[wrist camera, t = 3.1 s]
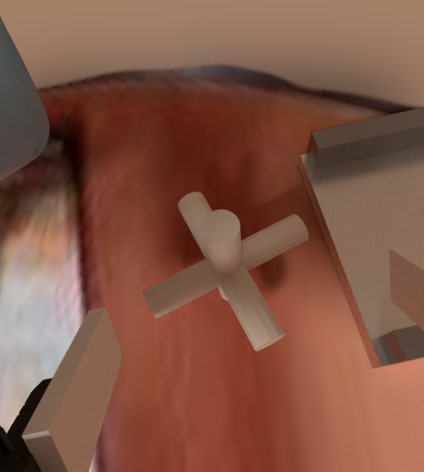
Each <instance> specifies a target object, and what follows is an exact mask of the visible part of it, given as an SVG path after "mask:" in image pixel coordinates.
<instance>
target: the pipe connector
mask: <svg viewBox="0 0 424 472" xmlns="http://www.w3.org/2000/svg"><path fill="white" fill-rule="evenodd" d="M178 209H179V210H180V212H181V214H182V216H183V218H184V220H185V221H186V223H187V225H188V227H189V229H190V231H191V233H192V234H193V236H194V238H195V240H196V242H197V244H198V246H199V247H200V249H201V251H202V253H203V255H204V257H205V259H204V260H202V261H200V262H198V263H196V264H194V265H192V266H190V267H188V268H186V269H184V270H182V271H180V272H178V273H176V274H174V275H173V276H171V277H169V278H167V279H165V280H163V281H161V282H159V283H157V284H155V285H153V286H151V287H149V288H147V289H145V290H143V294H144V296H145V299H146V302H147V304H148V306H149V308H150V310H151V311H152V313H153V315H154V316H155V318H156V319H157V318H159V317H161V316H163V315H165V314H167V313H169V312H171V311H172V310H174V309H176V308H178V307H180V306H182V305H184V304H186V303H188V302H190V301H192V300H194V299H195V298H197V297H199V296H201V295H203V294H205V293H207V292H209V291H211V290H213V289H215V288H217V287H218V289H219V292H220V295H221V296H222V298H223V299H225V300H227V301H229V303H230V305H231V307H232V309H233V310H234V312H235V314H236V316H237V318H238V320H239V322H240V323H241V325H242V327H243V329H244V331H245V333H246V334H247V336H248V338H249V340H250V342H251V344H252V346H253V347H254V349H255V351H259V350H261V349H263V348H265V347H267V346H269V345H271V344H272V343H274V342H276V341H278V340H279V339H280V338H282V337H283V336H284V335H285V333H284V331H283V329H282V328H281V326H280V324H279V323H278V321H277V319H276V318H275V316H274V314H273V312H272V311H271V309H270V307H269V306H268V304H267V302H266V301H265V299H264V297H263V296H262V294H261V292H260V291H259V289H258V287H257V285H256V284H255V282H254V280H253V279H252V277H251V275H250V274H249V272H248V271H249V270H251V269H253V268H255V267H257V266H259V265H261V264H263V263H264V262H266V261H268V260H270V259H272V258H274V257H276V256H278V255H280V254H282V253H284V252H286V251H287V250H289V249H291V248H293V247H295V246H297V245H299V244H301V243H303V242H305V241H307V240H308V239H309V234H308V231H307V228H306V226H305V224H304V222H303V221H302V219H301V218H300V217H299V216H298V215H296V214H292V215H290V216H288V217H286V218H284V219H282V220H281V221H279V222H277V223H275V224H273V225H271V226H269V227H267V228H265V229H263V230H261V231H259V232H257V233H255V234H253V235H251V236H249V237H247V238H245V239H243V240H241V231H240V222H239V220H238V218H237V216H236V215H235V214H234V213H232V212H230V211H228V210H222V209H220V210H215V211H212V209H211V208H210V206H209V204H208V203H207V201H206V199H205V198H204V196H203V195H202V193H201V192H192V193H189V194H187V195H186V196H184V197H183V198H182V199H181V200H180V201H179V203H178Z"/></svg>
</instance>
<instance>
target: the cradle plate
mask: <svg viewBox="0 0 424 472" xmlns="http://www.w3.org/2000/svg"><path fill="white" fill-rule="evenodd" d="M298 168H299V171H300V173H301V176H302V179H303V181H304V184H305V187H306V189H307V192H308V195H309V197H310V200H311V203H312V206H313V208H314V211H315V214H316V216H317V219H318V222H319V224H320V227H321V230H322V233H323V235H324V238H325V241H326V243H327V246H328V249H329V251H330V254H331V257H332V259H333V262H334V265H335V268H336V270H337V273H338V276H339V278H340V281H341V284H342V286H343V289H344V292H345V294H346V297H347V300H348V303H349V305H350V308H351V311H352V313H353V316H354V319H355V321H356V324H357V327H358V330H359V332H360V335H361V338H362V340H363V343H364V346H365V348H366V351H367V354H368V356H369V359H370V362H371V365H372V367H373V369H374V368H378V367H383V366H388V365H393V364H397V363H402V362H407V361H412V360H416V359H421V358H424V331H423V330H422V329H421V328H420V327H419V326H418V325H417V324H416V323H415V322H414V321H412V320H411V319H410V318H409V317H408V316H407V315H406V314H405V313H404V312H403V311H402V310H401V309H399V308H398V307H397V306H396V305H395V304H394V303H393V302H392V301H391V287H390V260H389V248H391V247H396V246H401V245H408V246H409V247H411V248H413V249H414V250H416V251H418V252H419V253H421V254H423V255H424V107H423V108H418V109H414V110H409V111H405V112H400V113H396V114H391V115H386V116H382V117H377V118H373V119H368V120H364V121H359V122H355V123H350V124H346V125H341V126H336V127H332V128H327V129H323V130H318V131H314V132H311V136H310V141H309V145H308V150H307V154H304V155H300V160H299V165H298Z"/></svg>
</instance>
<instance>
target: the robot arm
mask: <svg viewBox="0 0 424 472" xmlns="http://www.w3.org/2000/svg"><path fill="white" fill-rule="evenodd" d="M48 137H49V120H48V116H47V113H46V110H45V108H44V105H43V103H42V101H41V98H40V96H39V94H38V92H37V89H36V87H35V85H34V83H33V81H32V79H31V77H30V75H29V73H28V71H27V68H26V66H25V64H24V62H23V60H22V58H21V56H20V54H19V52H18V51H17V48H16V46H15V44H14V43H13V41H12V39H11V37H10V35H9V33H8V31H7V29H6V27H5V25H4V23H3V21H2V19H1V17H0V182H1V181H2V180H4V179H5V178H7V177H8V176H10V175H11V174H13V173H14V172H16V171H18V170H19V169H21V168H22V167H24V166H25V165H27V164H28V163H30V162H31V161H33V160H34V159H36V158H37V157H38V156H39V155H40V154H41V153H42V151H43V150H44V148H45V147H46V144H47V141H48ZM389 260H390V287H391V301H392V302H393V303H394V304H395V305H396V306H397V307H398V308H399V309H401V310H402V311H403V312H404V313H405V314H406V315H407V316H408V317H409V318H410V319H411V320H412V321H414V322H415V323H416V324H417V325H418V326H419V327H420V328H421V329H422V330H423V331H424V255H423V254H421V253H419V252H418V251H416V250H414V249H413V248H411V247H409V246H408V245H401V246H396V247H391V248H389ZM122 357H123V355H122V352H121V349H120V347H119V344H118V341H117V338H116V335H115V332H114V329H113V326H112V324H111V321H110V318H109V315H108V312H107V309H106V307H102V308H98V309H93V310H89V312H88V314H87V315H86V317H85V319H84V321H83V323H82V325H81V327H80V328H79V330H78V332H77V334H76V336H75V338H74V340H73V341H72V343H71V345H70V347H69V349H68V351H67V353H66V354H65V356H64V358H63V360H62V362H61V364H60V365H59V367H58V369H57V371H56V373H55V375H54V377H53V378H50V379H46V380H43V381H42V382H41V383H40V384H39V385H38V386H37V387H36V388H35V389H34V390H33V391H32V392H31V394H30V395H29V397H28V399H27V400H26V402H25V405H23V407H22V409H21V410H20V412H19V415H18V416H17V417H16V419H15V421H14V422H13V424H12V426H11V427H10V429H9V431H8V432H7V434H6V432H5V430H4V429H3V428H2V427H1V426H0V472H89V468H90V465H91V462H92V458H93V455H94V451H95V448H96V445H97V441H98V438H99V434H100V431H101V428H102V424H103V421H104V418H105V414H106V411H107V407H108V404H109V401H110V397H111V394H112V390H113V387H114V384H115V380H116V377H117V374H118V370H119V367H120V363H121V360H122Z"/></svg>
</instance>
